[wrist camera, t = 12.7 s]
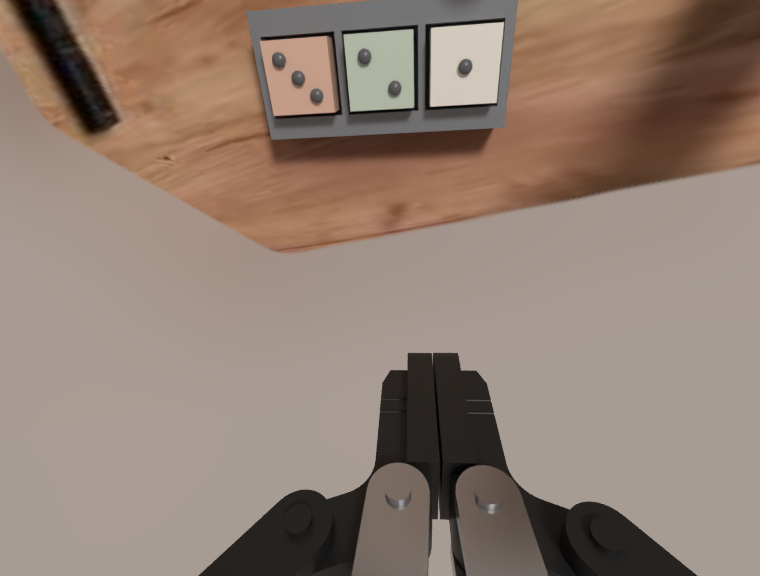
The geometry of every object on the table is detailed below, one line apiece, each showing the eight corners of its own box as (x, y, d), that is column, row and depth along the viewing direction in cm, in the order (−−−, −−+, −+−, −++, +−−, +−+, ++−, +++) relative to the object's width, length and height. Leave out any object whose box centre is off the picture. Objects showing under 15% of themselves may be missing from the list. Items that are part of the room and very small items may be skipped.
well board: (508, -5, 31) (519, -12, 28) (496, 122, 36) (504, 127, 33) (260, 16, 33) (246, 11, 30) (282, 134, 38) (271, 139, 35)
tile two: (413, 32, 31) (413, 28, 29) (413, 104, 34) (414, 108, 31) (348, 37, 32) (343, 34, 29) (354, 108, 35) (349, 111, 32)
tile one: (496, 26, 31) (505, 21, 28) (489, 100, 34) (497, 103, 31) (429, 31, 31) (431, 27, 28) (428, 104, 34) (430, 107, 31)
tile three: (333, 38, 32) (325, 35, 29) (340, 109, 35) (334, 112, 32) (271, 43, 33) (258, 40, 30) (283, 112, 35) (272, 116, 33)
